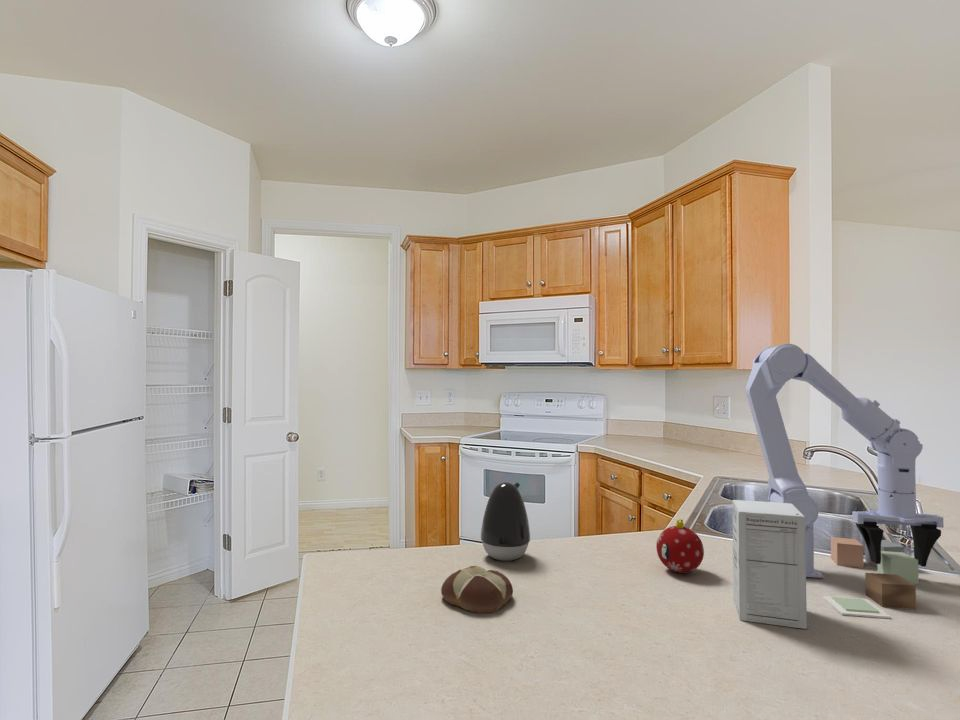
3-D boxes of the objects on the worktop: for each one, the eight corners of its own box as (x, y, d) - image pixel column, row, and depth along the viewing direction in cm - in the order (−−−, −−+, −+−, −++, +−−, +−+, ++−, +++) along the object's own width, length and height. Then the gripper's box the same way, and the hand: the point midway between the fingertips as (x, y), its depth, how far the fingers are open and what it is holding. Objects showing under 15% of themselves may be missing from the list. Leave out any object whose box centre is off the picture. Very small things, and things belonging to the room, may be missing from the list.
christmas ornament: (714, 575, 103) (714, 522, 103) (680, 582, 99) (680, 527, 99) (679, 561, 110) (679, 512, 111) (646, 567, 107) (647, 516, 107)
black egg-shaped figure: (538, 554, 114) (539, 481, 114) (515, 568, 105) (515, 489, 105) (497, 545, 119) (497, 476, 120) (470, 558, 110) (471, 483, 111)
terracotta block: (837, 565, 110) (837, 543, 110) (830, 558, 114) (830, 537, 114) (863, 568, 108) (863, 545, 108) (856, 561, 112) (855, 539, 113)
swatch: (841, 615, 86) (841, 611, 86) (821, 597, 93) (821, 593, 93) (890, 618, 85) (890, 614, 85) (866, 600, 92) (866, 597, 92)
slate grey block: (883, 570, 107) (883, 547, 108) (865, 562, 112) (865, 540, 112) (904, 569, 108) (904, 546, 108) (885, 561, 112) (885, 539, 113)
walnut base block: (882, 607, 89) (881, 583, 90) (865, 595, 94) (865, 572, 94) (915, 610, 89) (915, 585, 89) (897, 598, 94) (897, 574, 94)
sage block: (891, 583, 100) (891, 558, 101) (877, 574, 105) (877, 550, 105) (918, 584, 100) (918, 560, 100) (903, 576, 104) (903, 552, 104)
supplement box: (795, 606, 89) (794, 502, 90) (809, 630, 80) (808, 516, 81) (731, 598, 92) (731, 498, 93) (737, 620, 84) (737, 510, 84)
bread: (481, 621, 83) (481, 587, 83) (430, 599, 90) (431, 569, 91) (525, 599, 91) (526, 569, 91) (476, 581, 99) (476, 553, 99)
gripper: (865, 493, 100) (867, 568, 100) (954, 496, 98) (956, 573, 97) (846, 486, 107) (847, 555, 107) (928, 489, 105) (930, 560, 104)
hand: (897, 563), depth 102 cm, fingers open, 7 cm apart
